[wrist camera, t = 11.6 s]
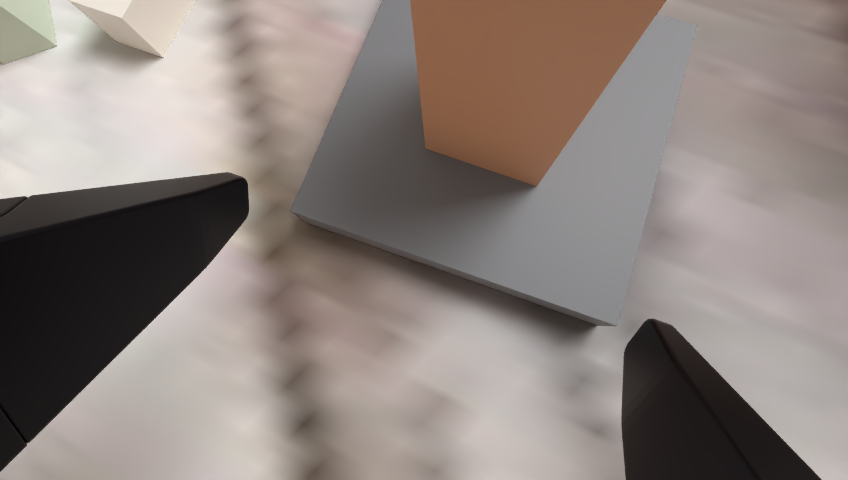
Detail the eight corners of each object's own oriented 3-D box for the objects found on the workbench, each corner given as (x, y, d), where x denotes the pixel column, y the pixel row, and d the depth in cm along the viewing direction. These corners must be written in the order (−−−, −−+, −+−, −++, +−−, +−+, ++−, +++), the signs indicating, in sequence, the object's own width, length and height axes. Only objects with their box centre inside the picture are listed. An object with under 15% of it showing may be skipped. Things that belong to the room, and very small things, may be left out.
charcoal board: (597, 325, 17) (617, 326, 15) (306, 222, 19) (290, 211, 17) (672, 54, 20) (697, 24, 18) (408, -17, 21) (405, -52, 19)
